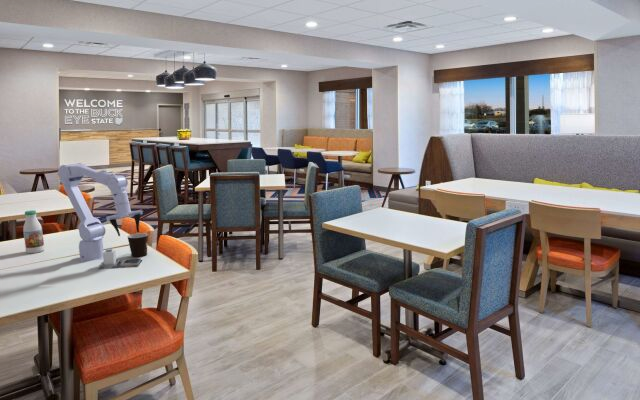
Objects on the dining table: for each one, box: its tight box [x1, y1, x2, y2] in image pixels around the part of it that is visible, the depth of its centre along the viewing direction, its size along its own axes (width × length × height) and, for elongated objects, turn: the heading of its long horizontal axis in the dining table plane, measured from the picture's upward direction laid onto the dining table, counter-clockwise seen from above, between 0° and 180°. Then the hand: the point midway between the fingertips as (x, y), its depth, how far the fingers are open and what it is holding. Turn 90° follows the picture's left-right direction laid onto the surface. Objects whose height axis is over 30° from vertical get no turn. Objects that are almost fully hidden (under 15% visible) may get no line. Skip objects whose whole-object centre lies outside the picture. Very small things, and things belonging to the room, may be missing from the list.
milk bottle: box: [22, 209, 45, 254], centre depth 222 cm, size 8×8×20 cm
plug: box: [102, 248, 117, 265], centre depth 198 cm, size 4×4×7 cm
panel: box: [97, 257, 143, 271], centre depth 199 cm, size 16×10×2 cm, turn 99°
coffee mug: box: [127, 232, 149, 259], centre depth 213 cm, size 12×9×10 cm
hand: (128, 233), depth 201 cm, fingers open, 7 cm apart
